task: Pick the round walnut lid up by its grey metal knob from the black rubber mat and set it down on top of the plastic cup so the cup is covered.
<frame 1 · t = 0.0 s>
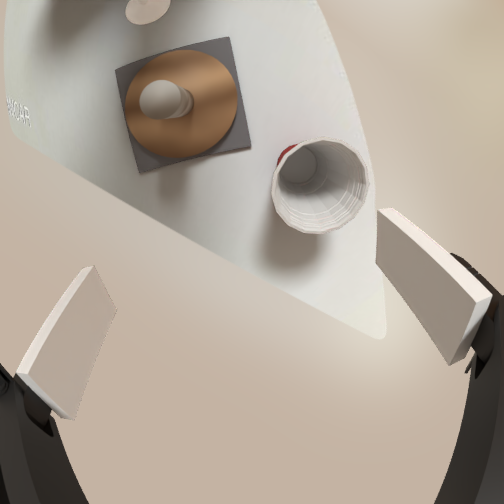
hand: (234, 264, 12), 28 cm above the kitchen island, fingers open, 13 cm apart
champagne flute: (147, 6, 24), on the kitchen island
plastic cup: (298, 165, 38), on the kitchen island
mat: (180, 103, 32), on the kitchen island
lid: (180, 102, 32), resting on mat
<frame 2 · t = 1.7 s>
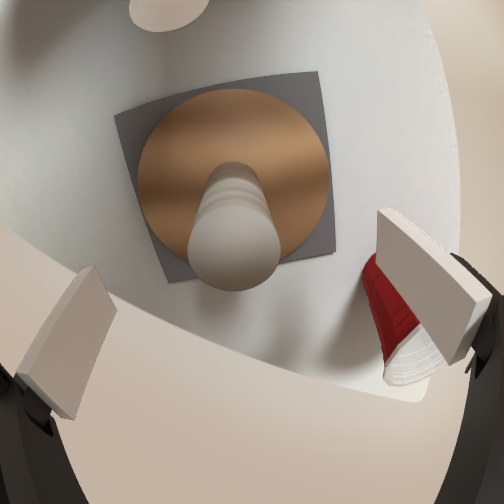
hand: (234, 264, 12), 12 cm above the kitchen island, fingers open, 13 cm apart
plastic cup: (385, 269, 28), on the kitchen island
mat: (233, 182, 22), on the kitchen island
lid: (233, 183, 21), resting on mat
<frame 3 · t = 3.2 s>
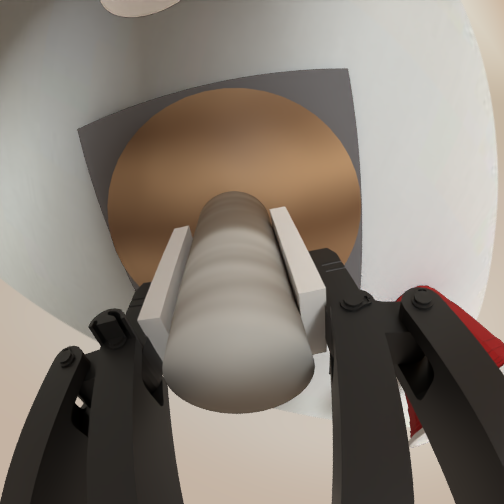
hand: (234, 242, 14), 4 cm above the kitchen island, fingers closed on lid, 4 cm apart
plastic cup: (411, 310, 22), on the kitchen island
mat: (233, 216, 17), on the kitchen island
lid: (234, 219, 16), point 1 cm above the kitchen island, touching gripper
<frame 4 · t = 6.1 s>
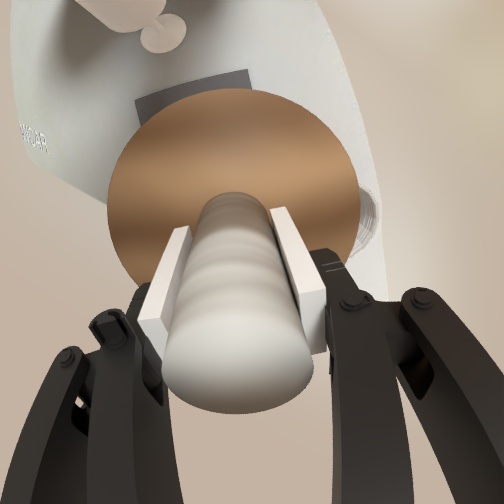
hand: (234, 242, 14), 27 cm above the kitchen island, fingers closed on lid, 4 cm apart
champagne flute: (163, 33, 28), on the kitchen island
plastic cup: (312, 193, 41), on the kitchen island
mat: (202, 135, 36), on the kitchen island
lid: (233, 219, 16), point 24 cm above the kitchen island, touching gripper
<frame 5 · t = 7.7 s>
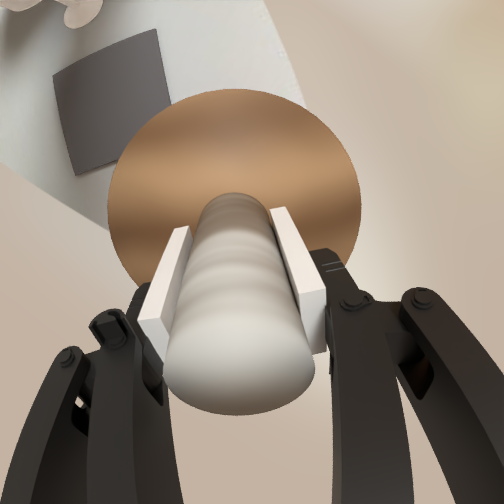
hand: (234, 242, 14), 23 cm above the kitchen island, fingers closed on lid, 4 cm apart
champagne flute: (83, 9, 20), on the kitchen island
mat: (109, 102, 28), on the kitchen island
lid: (234, 220, 16), point 20 cm above the kitchen island, touching gripper
when the fingers open (17 cm above the kitchen island, at t = 9.0 s): lid drops 2 cm, resting on plastic cup.
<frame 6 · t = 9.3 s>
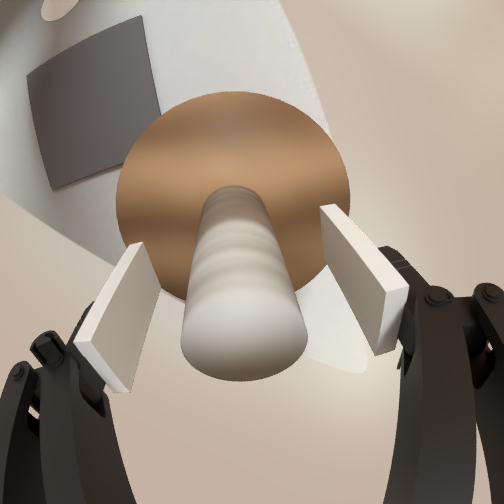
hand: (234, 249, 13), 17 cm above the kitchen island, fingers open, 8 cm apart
mat: (87, 104, 23), on the kitchen island
lid: (233, 210, 18), point 12 cm above the kitchen island, touching plastic cup
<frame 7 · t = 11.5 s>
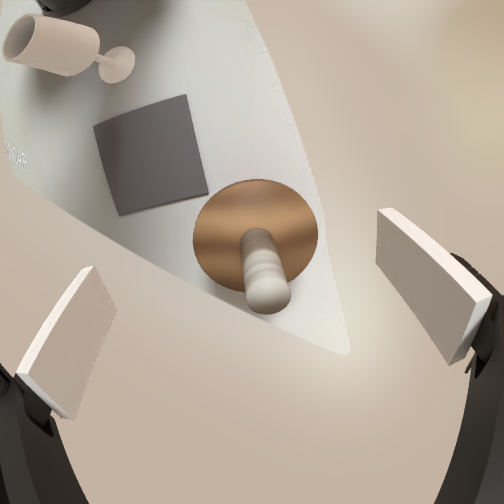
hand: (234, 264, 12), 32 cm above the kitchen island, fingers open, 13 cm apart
champagne flute: (116, 64, 32), on the kitchen island
mat: (148, 156, 39), on the kitchen island
lid: (255, 238, 34), point 12 cm above the kitchen island, touching plastic cup
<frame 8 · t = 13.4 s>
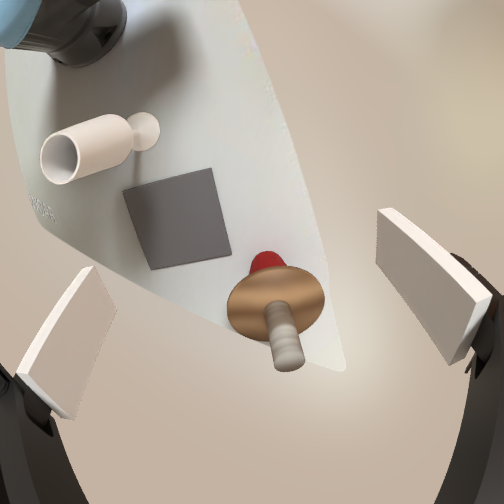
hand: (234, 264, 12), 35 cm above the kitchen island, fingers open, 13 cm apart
champagne flute: (140, 131, 39), on the kitchen island
plastic cup: (267, 264, 53), on the kitchen island, touching lid
mat: (177, 222, 47), on the kitchen island
lid: (275, 305, 42), point 12 cm above the kitchen island, touching plastic cup
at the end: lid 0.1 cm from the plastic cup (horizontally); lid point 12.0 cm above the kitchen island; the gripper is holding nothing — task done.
